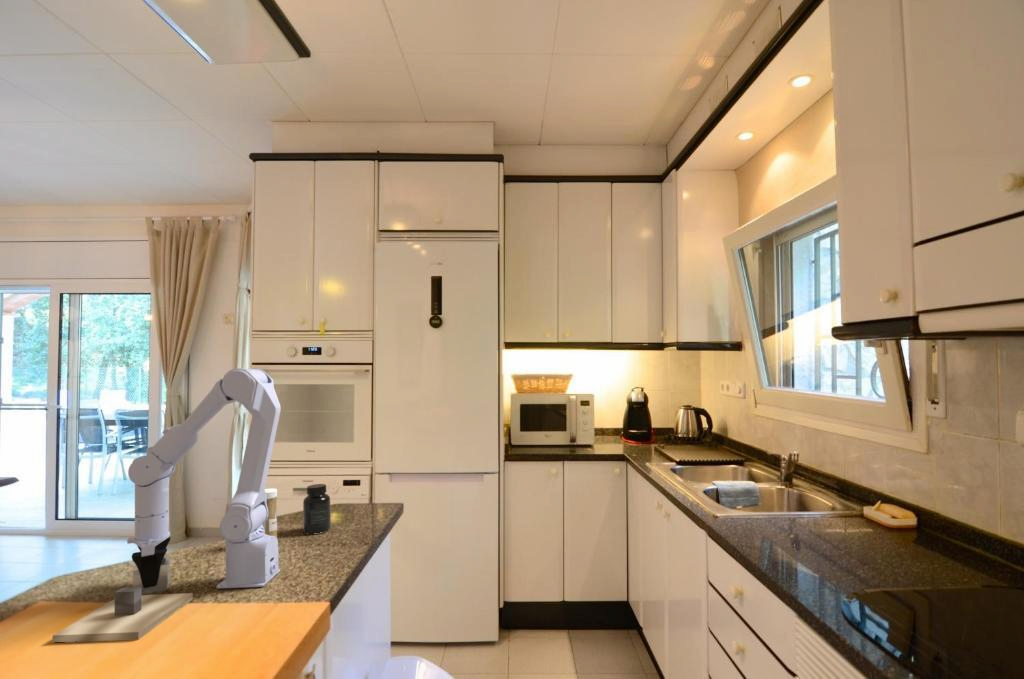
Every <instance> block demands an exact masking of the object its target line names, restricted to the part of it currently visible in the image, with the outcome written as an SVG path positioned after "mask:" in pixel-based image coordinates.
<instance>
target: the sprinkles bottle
mask: <svg viewBox="0 0 1024 679" xmlns="http://www.w3.org/2000/svg"><path fill="white" fill-rule="evenodd" d="M265 492H266V494H267V507H268V518H267V520H266V521H265V523H264V524H263V527H264V530H265V534H266V535H270V536H275V537H276V538H277V540H278V511H277V509H278V508H277V497H278V489H277V488H273V487H271V488H265ZM278 541H279V540H278Z"/></svg>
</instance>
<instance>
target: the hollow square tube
mask: <svg viewBox="0 0 1024 679" xmlns="http://www.w3.org/2000/svg"><path fill="white" fill-rule="evenodd" d="M170 559H171V556H170V555H167V556H164V557H163V560H162V562H161V566H160V572H159V578H158V582H157V585H156V586H153V587H149V588H143V585H142V581H141V577H140V573H139V570H138V568H137V566H136V564H135V566H134V568H133V570H132V587H142V590H141V595H151V594H153V593H154V594H155V593H158V592H162V591H168V590H169V589H168V588H169V584H170V581H171V570H170V569H171V562H170V561H171V560H170Z"/></svg>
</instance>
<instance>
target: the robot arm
mask: <svg viewBox="0 0 1024 679" xmlns="http://www.w3.org/2000/svg"><path fill="white" fill-rule="evenodd" d="M274 382H275V381H274V379H273V378H272V377H271V376H270V375H269V374H268V373H267V372H266V371H265V370H263V369H261V368H257V367H255V368H254V367H253V368H242V367H241V368H240V367H239V368H233V369H231V370H228V371H227V372H226V373H225V374H224V376H223V378H220V379H219V380H218V381H216V382H215V384H214V386H213V387H212V388H211V390H210V391H209V392H208V394H206V396H204V398H203V399H202V401H201V402H200V403H199V404H198V405H197V406H196V408H195V409H194V410H193V411H192V412H191V414H190V415H189V416H187V418H186V419H185V420H184V422H183V423H182V424H181V423H180V424H174V425H171V426H170V427H165V428H164V430H163V431H162V432H161V433H162V434H163V435H162V436H161V437H160V438H159V440H158V441H156V443H155V444H154V445H153V446H149V447H148V448H147V449H146V450H145V451H146V455H142V456H138V457H136V458H134V459H133V461H132V463H131V464H130V466H129V467H128V470H127V472H128V478H129V481H131V482H132V483H133V484H134V536H131V537H128V539H126V542H127V544H135V545H136V546H137V548H138V550H139V551H136V552H133V553H132V554H131V559H132V561H133V563H134V564H135V565H136V566H137V568H138V570H139V573H140V577H141V581H142V585H143V588H149V587H153V586H156V585H157V582H158V578H159V572H160V566H161V562H162V560H163V557H165V555H166V553H167V551H168V548H167V547H168V544H169V543H170V541H171V531H170V477H171V476H172V475H173V474H174V472H175V470H176V465H177V464H178V463H179V462H180V461H181V459H183V457H184V456H186V454H187V453H188V452H189V451H190V450H191V449H192V448H193V447H194V446H195V444H197V442H198V439H199V438H198V432H200V430H201V429H203V428H204V427H205V426H206V425H207V424H208V423H209V422H210V421H211V420H212V419H213V418H214V417H215V416H216V415H217V414H218V413H219V412H220V411H221V410H222V409H223V408H224V407H225V406H226V405H229V404H233V403H234V402H235V403H236V402H237V403H238V404H241V405H242V406H243V407H244V408H245V409H246V410H247V411H248V413H249V414H251V420H250V426H249V431H248V435H247V440H246V445H245V449H244V455H243V460H242V464H241V468H240V472H239V479H238V484H237V486H236V487H237V488H236V491H235V492H234V495H233V497H232V498H231V500H230V501H229V504H228V508H227V511H226V513H225V514H224V516H223V517H222V518H221V521H220V523H219V531H220V533H221V535H222V537H223V538H224V539H225V579H223V580H222V581H221V582H220V583H219V584H217V585H216V586H215V588H216V589H239V588H241V589H242V588H261V587H262V588H263V587H264V586H265V585H267V584H268V583H269V582H270V581H271V580H272V579H273V578H275V576H277V574H279V573H280V571H281V569H280V568H279V542H278V541H279V540H277V539H278V537H277V538H276V537H275V536H270V535H266V534H265V530H264V527H263V524H264V523H265V521H266V520H267V518H268V507H267V494H266V492H265V489H266V484H267V480H268V474H269V469H270V464H271V460H272V455H273V451H274V445H275V440H276V437H277V436H276V435H277V431H278V430H277V429H278V425H279V420H280V416H281V411H282V410H281V408H282V407H281V403H280V400H279V398H278V395H277V393H276V390H275V386H274V385H275V383H274Z"/></svg>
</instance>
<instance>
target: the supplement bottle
mask: <svg viewBox="0 0 1024 679" xmlns="http://www.w3.org/2000/svg"><path fill="white" fill-rule="evenodd" d="M306 495H307V496H306V497H304V499H303V501H302V502H303V503H302V505H303V509H302V510H303V514H302V515H303V520H302V522H303V532H305V533H308V534H307V535H309V534H314V533H320V532H324V531H327V530H328V529H331V524H332V523H331V517H332V516H331V496H330V495H329V494H327V484H325V483H316V484H311V485H308V486H306ZM327 532H328V531H327ZM305 533H304V534H305ZM324 533H325V532H324Z"/></svg>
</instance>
